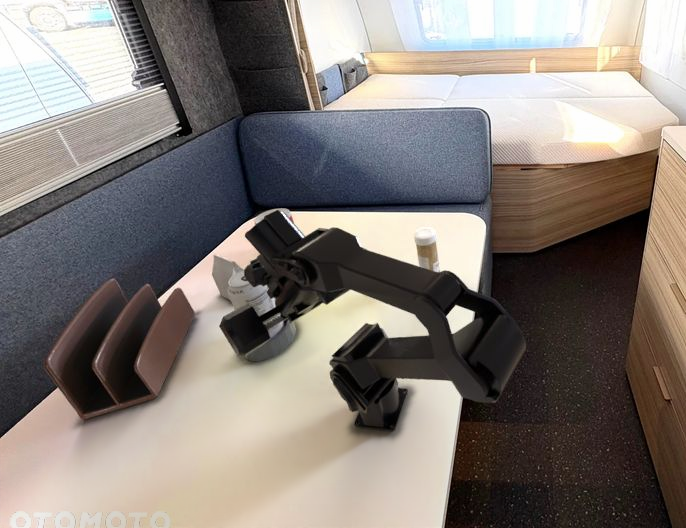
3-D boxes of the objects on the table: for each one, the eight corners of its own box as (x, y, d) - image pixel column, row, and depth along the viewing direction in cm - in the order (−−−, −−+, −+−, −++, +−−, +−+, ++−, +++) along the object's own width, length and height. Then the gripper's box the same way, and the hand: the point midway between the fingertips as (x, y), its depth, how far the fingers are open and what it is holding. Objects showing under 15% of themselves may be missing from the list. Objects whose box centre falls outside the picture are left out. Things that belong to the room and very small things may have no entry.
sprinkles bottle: (445, 283, 86) (439, 233, 80) (426, 291, 84) (418, 241, 78) (436, 272, 90) (430, 223, 84) (418, 280, 87) (410, 230, 82)
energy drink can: (273, 322, 77) (250, 262, 71) (293, 332, 75) (271, 270, 68) (244, 345, 72) (216, 283, 66) (265, 356, 70) (238, 293, 63)
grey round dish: (276, 363, 69) (271, 349, 67) (229, 359, 70) (223, 345, 69) (305, 322, 77) (301, 309, 76) (263, 320, 78) (258, 307, 77)
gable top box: (240, 304, 82) (224, 267, 78) (221, 295, 85) (204, 259, 81) (256, 293, 85) (242, 257, 81) (237, 285, 88) (222, 249, 84)
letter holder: (81, 422, 60) (32, 360, 55) (138, 328, 77) (105, 273, 71) (158, 399, 64) (119, 337, 58) (196, 313, 80) (169, 259, 74)
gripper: (332, 215, 65) (308, 254, 74) (204, 271, 50) (195, 310, 60) (369, 269, 63) (340, 302, 73) (249, 343, 49) (232, 372, 58)
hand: (282, 318), depth 66 cm, fingers open, 9 cm apart
